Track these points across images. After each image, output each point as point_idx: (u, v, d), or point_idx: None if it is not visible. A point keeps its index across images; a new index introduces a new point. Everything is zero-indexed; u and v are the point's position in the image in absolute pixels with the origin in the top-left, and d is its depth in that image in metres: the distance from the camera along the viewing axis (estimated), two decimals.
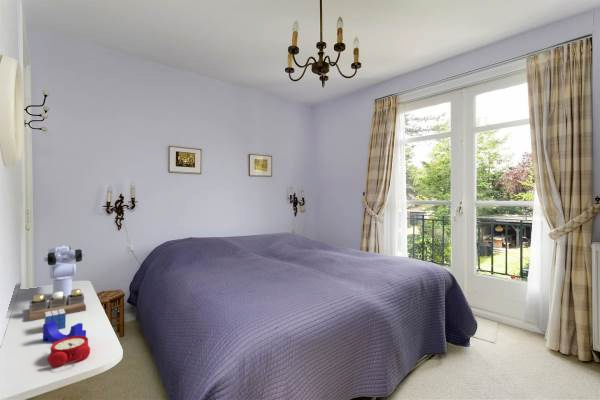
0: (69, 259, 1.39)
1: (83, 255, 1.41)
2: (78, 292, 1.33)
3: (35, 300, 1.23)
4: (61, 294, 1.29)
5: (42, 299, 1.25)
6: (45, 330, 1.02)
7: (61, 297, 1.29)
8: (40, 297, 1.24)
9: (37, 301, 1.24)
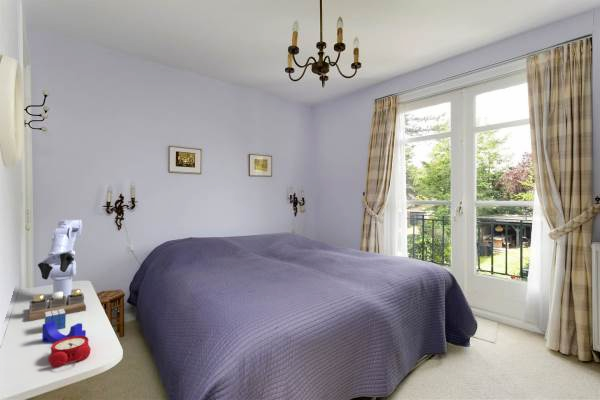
0: None
1: (72, 254, 1.33)
2: (78, 292, 1.33)
3: (35, 300, 1.23)
4: (61, 294, 1.29)
5: (42, 299, 1.25)
6: (44, 330, 1.01)
7: (61, 297, 1.29)
8: (40, 297, 1.24)
9: (37, 301, 1.24)
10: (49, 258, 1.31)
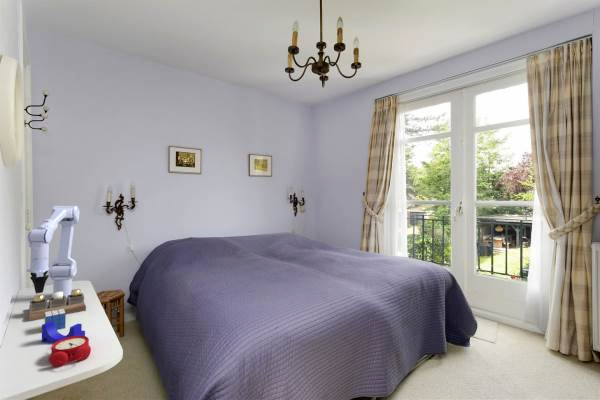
0: None
1: None
2: (78, 292, 1.33)
3: (35, 300, 1.23)
4: (61, 294, 1.29)
5: (42, 299, 1.25)
6: (44, 331, 1.01)
7: (61, 297, 1.29)
8: (40, 297, 1.24)
9: (37, 301, 1.24)
10: None
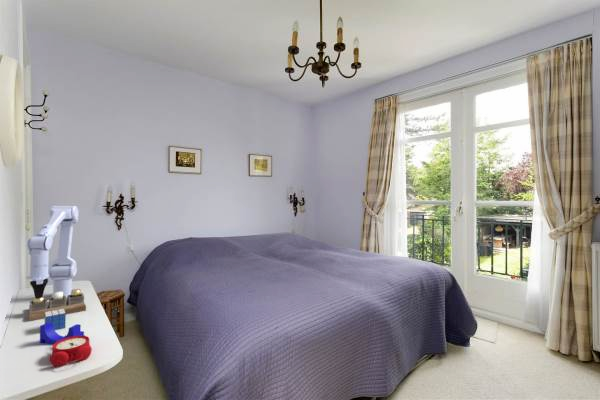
0: None
1: None
2: (78, 292, 1.33)
3: (35, 302, 1.23)
4: (61, 294, 1.29)
5: (42, 301, 1.25)
6: (42, 332, 1.00)
7: (61, 297, 1.29)
8: (40, 299, 1.24)
9: None
10: None
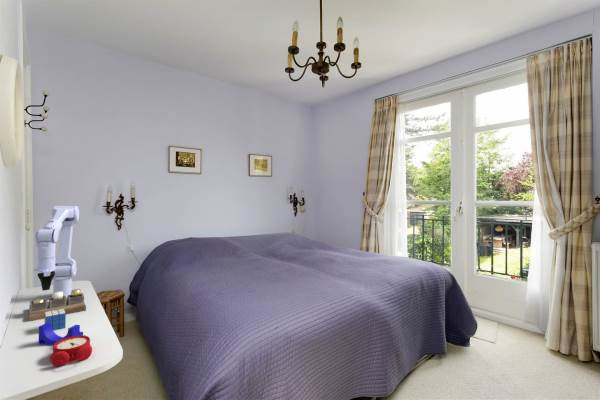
0: None
1: None
2: (78, 292, 1.33)
3: None
4: (61, 294, 1.29)
5: None
6: (41, 332, 1.00)
7: (61, 297, 1.29)
8: None
9: None
10: None
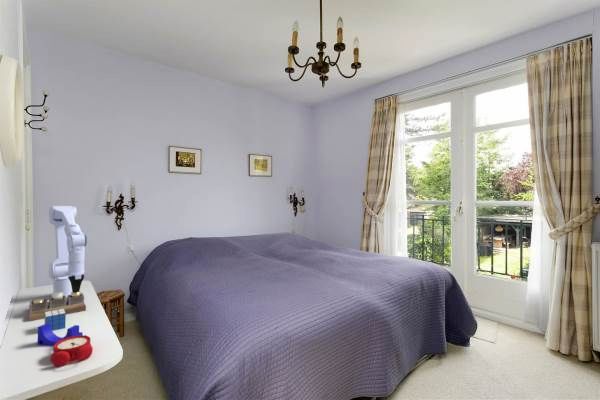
0: None
1: None
2: (78, 294, 1.33)
3: None
4: (61, 294, 1.29)
5: None
6: (40, 333, 0.99)
7: (61, 297, 1.29)
8: None
9: None
10: None
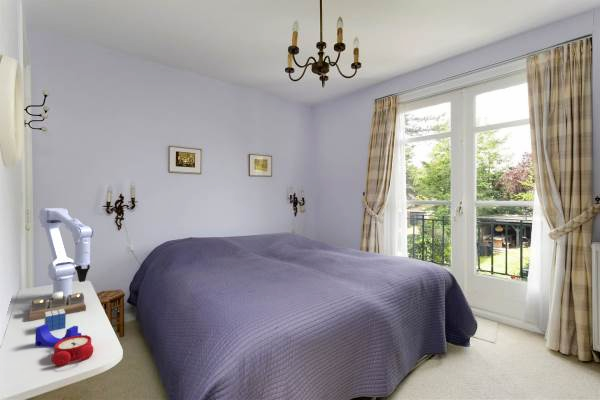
0: None
1: None
2: None
3: None
4: (61, 294, 1.29)
5: None
6: (38, 334, 0.98)
7: (61, 297, 1.29)
8: None
9: None
10: None
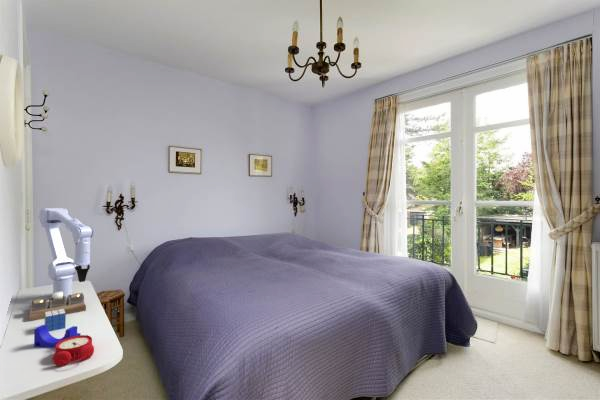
0: None
1: None
2: None
3: None
4: (61, 294, 1.29)
5: None
6: (37, 335, 0.98)
7: (61, 297, 1.29)
8: None
9: None
10: None
